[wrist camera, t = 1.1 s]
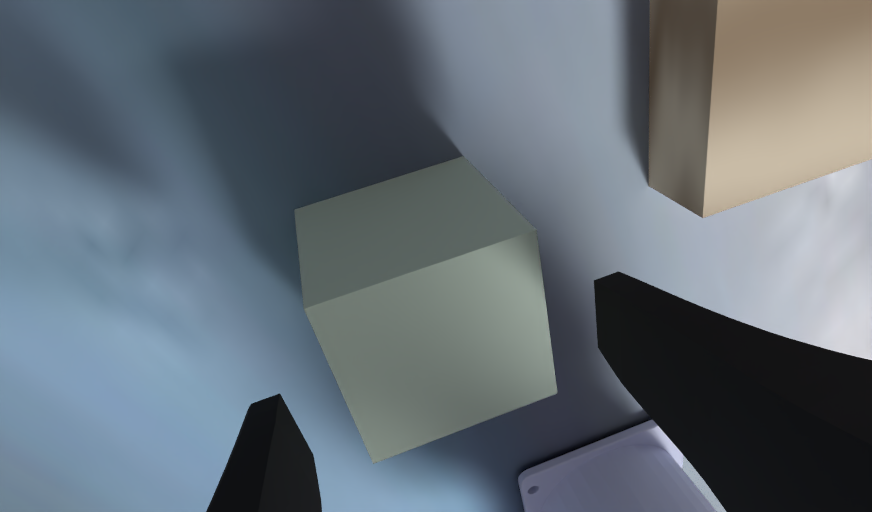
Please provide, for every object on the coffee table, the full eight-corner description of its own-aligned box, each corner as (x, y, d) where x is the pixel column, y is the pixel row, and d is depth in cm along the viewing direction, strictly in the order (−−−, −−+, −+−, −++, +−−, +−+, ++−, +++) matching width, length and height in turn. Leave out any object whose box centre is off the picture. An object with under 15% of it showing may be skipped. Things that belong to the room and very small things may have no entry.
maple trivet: (865, 106, 19) (957, 128, 16) (641, 181, 18) (702, 218, 15) (941, -221, 14) (1088, -262, 11) (640, -145, 13) (729, -172, 10)
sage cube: (489, 291, 18) (557, 393, 14) (348, 341, 17) (373, 463, 13) (462, 154, 15) (536, 229, 11) (294, 208, 14) (303, 308, 10)
